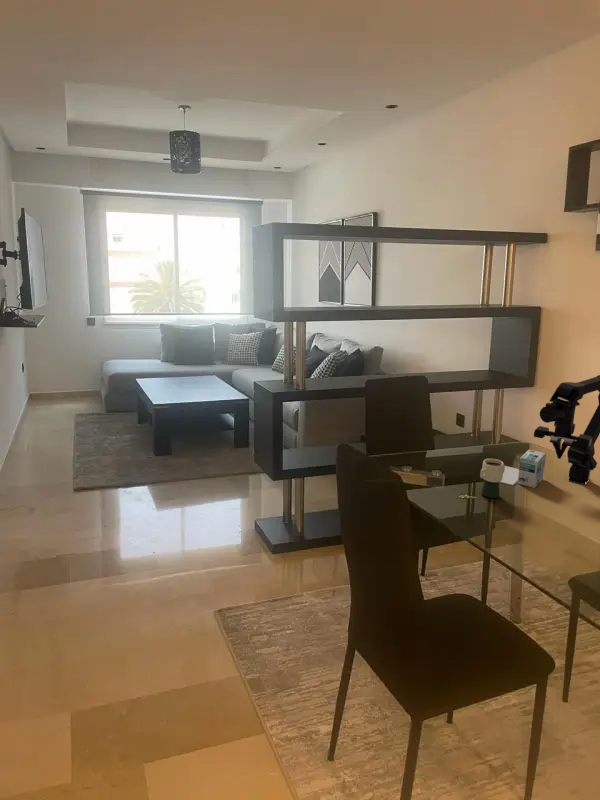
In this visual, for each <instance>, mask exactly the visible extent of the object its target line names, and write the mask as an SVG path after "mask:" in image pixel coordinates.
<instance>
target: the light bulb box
mask: <svg viewBox="0 0 600 800" xmlns="http://www.w3.org/2000/svg"><path fill="white" fill-rule="evenodd" d="M546 457H547V453H546V452H541V451H537V450H535V449H534V450H533V449H528V450H527V451H526V452H525V453H524V454H523V455H522V456H521V457H520V458H519V459H520V460H519V468H518V469H519V474H518V481H517V482H516V483H517V484H518V485H520V486H521V485H522V486H526V487H529V488H533V489H535V488H536V487H537V486H538V485H539V484H540V483H541V481H543V478H544V473H545V466H546Z"/></svg>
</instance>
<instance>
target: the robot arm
mask: <svg viewBox="0 0 600 800" xmlns="http://www.w3.org/2000/svg"><path fill="white" fill-rule="evenodd" d="M596 391H598V396H597V399H598V400H597V401H598V405H597V407H596V409H595V411H594V413H593V415H592V416H591V418H590V420H589V422H588V424H587V426H586V428H585V430H584V432H583V434H582V433H580V434H579V435H578V436H577V435H573V434H574V432H575V429H576V423H574V420H575V415H576V409H577V408H576V407H578V406H580V405H581V404H580V402H579V401H580V400H582V398H584V396H585V395H587V394H590V393H593V392H596ZM539 417H540V419H541V420H542V421H543V423H546V424H547V423H553V427H554V431H552V430H550V428H549V427H547V426H541V425H539V426H538V427H536V428H535V429H534V431H533V437H534V438H539V439H543V438H545V437H550V440H549V443H552V444H551V445H552V446H553V448H554V450H555V453H556V456H557V459H558V460H559V459H560V460H561V459H562V457H563V455H564V453H565V451H566V449H567V448H568V449H567V453H566V454H567V455H566V456H567V462H568V463H569V464H571V466H570V467H569V470H568V482H573V483H577V484H581V485H584V484H585V482H587V481H588V480H589V478H590V477H591V471H594V469H596V467H597V465H598V462H597V461H596V458H595V457H594V456H595V454H596V453H595V452H596V451H595V443H596V442H597V440H598V438H599V436H600V374H598V375H597V376H594V377H591V378H588V379H585V380H581V381H578V382H571V381H568V382H567V381H563V382H561V383H559V385H558V386H557V387H556V389H555V391H554V393H553V394H552V396H551V397H550V399H549V402H546V403H545V406H543V407H541V408H540V411H539ZM562 440H563V442H562ZM590 479H591V478H590Z"/></svg>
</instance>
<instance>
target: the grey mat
mask: <svg viewBox="0 0 600 800" xmlns="http://www.w3.org/2000/svg"><path fill="white" fill-rule="evenodd" d="M518 474H519V468H514V467H512V466H507V465H505V469H504V473H503V478H502V480H501V481H500V482H499V484H503V485H508V486H513V487H514V485H515V484H516V483H517V482H518Z"/></svg>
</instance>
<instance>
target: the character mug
mask: <svg viewBox="0 0 600 800" xmlns="http://www.w3.org/2000/svg"><path fill="white" fill-rule="evenodd" d="M505 466H506V465H505V463H504V462H503V461H502V460H501V459H496V458H485V459H484V460H483V461H482V467H481V469H480V473H479V476H480V479H483V483H482V487H481V491H480V493H481V495H482V496H484V497H487V498H491V499H497V498H498V497H499V496H500V481H501V480H502V478H503V473H504V469H505Z"/></svg>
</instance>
